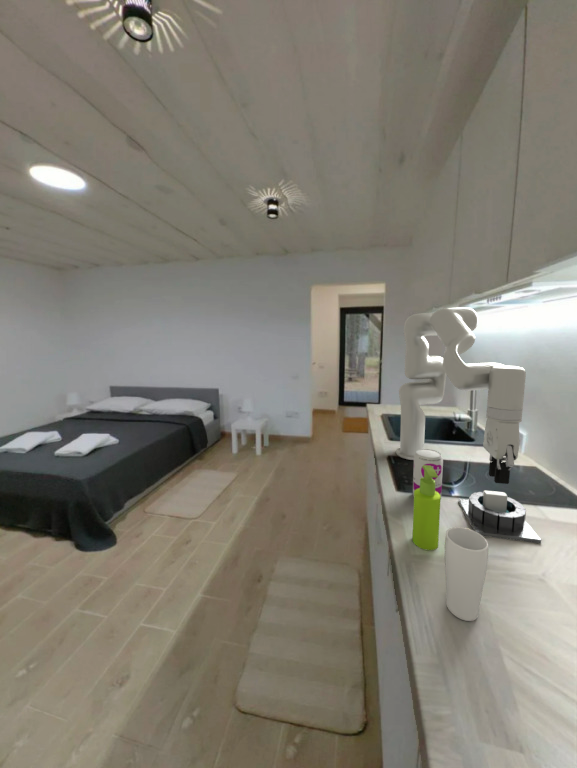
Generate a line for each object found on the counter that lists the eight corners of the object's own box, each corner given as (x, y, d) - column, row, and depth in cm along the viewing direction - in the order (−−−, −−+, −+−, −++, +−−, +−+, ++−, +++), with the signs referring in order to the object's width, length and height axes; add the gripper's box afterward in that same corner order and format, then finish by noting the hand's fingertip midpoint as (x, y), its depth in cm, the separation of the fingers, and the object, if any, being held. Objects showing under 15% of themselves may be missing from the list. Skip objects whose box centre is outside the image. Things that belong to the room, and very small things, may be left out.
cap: (475, 508, 87) (476, 485, 86) (503, 511, 85) (505, 488, 84) (483, 522, 80) (484, 498, 79) (513, 526, 78) (516, 501, 77)
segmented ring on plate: (458, 501, 92) (459, 486, 91) (511, 507, 88) (512, 491, 88) (476, 535, 77) (477, 517, 76) (540, 543, 73) (542, 524, 72)
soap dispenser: (417, 552, 71) (420, 474, 68) (409, 533, 78) (412, 461, 75) (443, 554, 71) (447, 475, 68) (433, 535, 77) (437, 462, 74)
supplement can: (444, 506, 90) (446, 459, 88) (415, 503, 92) (417, 457, 90) (436, 492, 98) (439, 448, 96) (410, 490, 100) (411, 447, 97)
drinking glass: (448, 624, 54) (453, 549, 51) (437, 592, 60) (440, 524, 58) (490, 629, 53) (496, 553, 50) (473, 596, 59) (478, 527, 57)
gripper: (476, 406, 87) (472, 465, 89) (500, 421, 71) (494, 493, 74) (506, 406, 85) (501, 467, 88) (537, 423, 69) (530, 496, 72)
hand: (498, 479), depth 81 cm, fingers open, 3 cm apart
